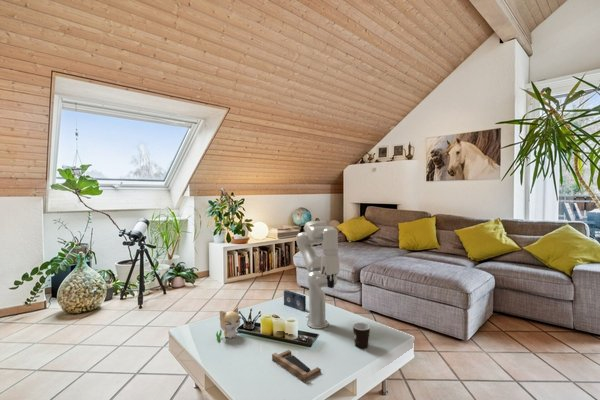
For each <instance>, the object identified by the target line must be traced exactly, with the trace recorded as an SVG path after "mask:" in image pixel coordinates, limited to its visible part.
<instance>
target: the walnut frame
mask: <svg viewBox="0 0 600 400" xmlns="http://www.w3.org/2000/svg"><path fill="white" fill-rule="evenodd" d="M271 356H272V357H271V360H272V362H274V363H275V364H277V365H278V366H279V367H281V368H283V369H284V370H286V371H287V372H289V373H290V374H292V375H293V376H294V377H295V378H298V379H299V380H300V381H302V382H303V383H305V382H307V381H309V380H310V379H312V378H314V377H315V376H317V375H319V374H321V372H322V370H321V368H320V367H318V366H317V367H316V368H313V369H310V370H311V371H309V372H308V373H306V372H305V371H303V370H302V369H300V368H299V367H297V366H296V365H294V364H292V363H291V362H289V361H288V360H286V359H285V358H287V357H290V356H292V351H291V350H289V349H287V350H285V351H283V352H281V353H279V354H278V353H277V352H274V353H272V354H271Z"/></svg>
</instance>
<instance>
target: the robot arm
mask: <svg viewBox="0 0 600 400" xmlns="http://www.w3.org/2000/svg"><path fill="white" fill-rule="evenodd" d="M303 229H304V231H302V232H299V233H298V234H296V238H295V239H296V245H297V247H298V250H299V253H301V254H302V257H303V261H304V264H305V267H306V270H307V272H308V275H307V285H308V294H309V295H308V299H309V301H308V306H309V307H308V309H309V312H307V314H306V315H305V318H307V319H308V320H306V325H307V327H309V328H311V329H317V330H318V329H324V328H326V327H328V325H329V321H328V320H327V319H326V294H325V291H324V290H323V289H322V288H329V289H332V288H335V286H336V285H337V283H338V275H339V272H340V257H339V253H338V252H339V247H338V246H339V243H338V242H339V240H338V239H339V238H338V236H339V231H338V229H337V228H335V227H334V226H331V225H328V223H327V222H326V221H325V220H311V221H310V220H309V221H307V222H306V223H305V224H304V226H303ZM320 244H323V245H322V247H323V248H322V249H323V250H322V255H321V256H318V254H317V252H316V251H315V249H314V248H313V247H312V245H320Z"/></svg>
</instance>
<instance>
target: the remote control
mask: <svg viewBox="0 0 600 400" xmlns="http://www.w3.org/2000/svg"><path fill="white" fill-rule="evenodd" d="M285 359H286V360H288V361H289V362H291V363H292V364H294V365H296V366H297V367H299V368H300V369H302V370H303V371H305V372H306V373H308V372H309V371H311V370H312V369H311V368H310V367H308V365H306V364H305V363H303V362H302V361H301V360H300V359H299V358H298V357H296V356H295V355H289V356H287V357H285Z"/></svg>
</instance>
